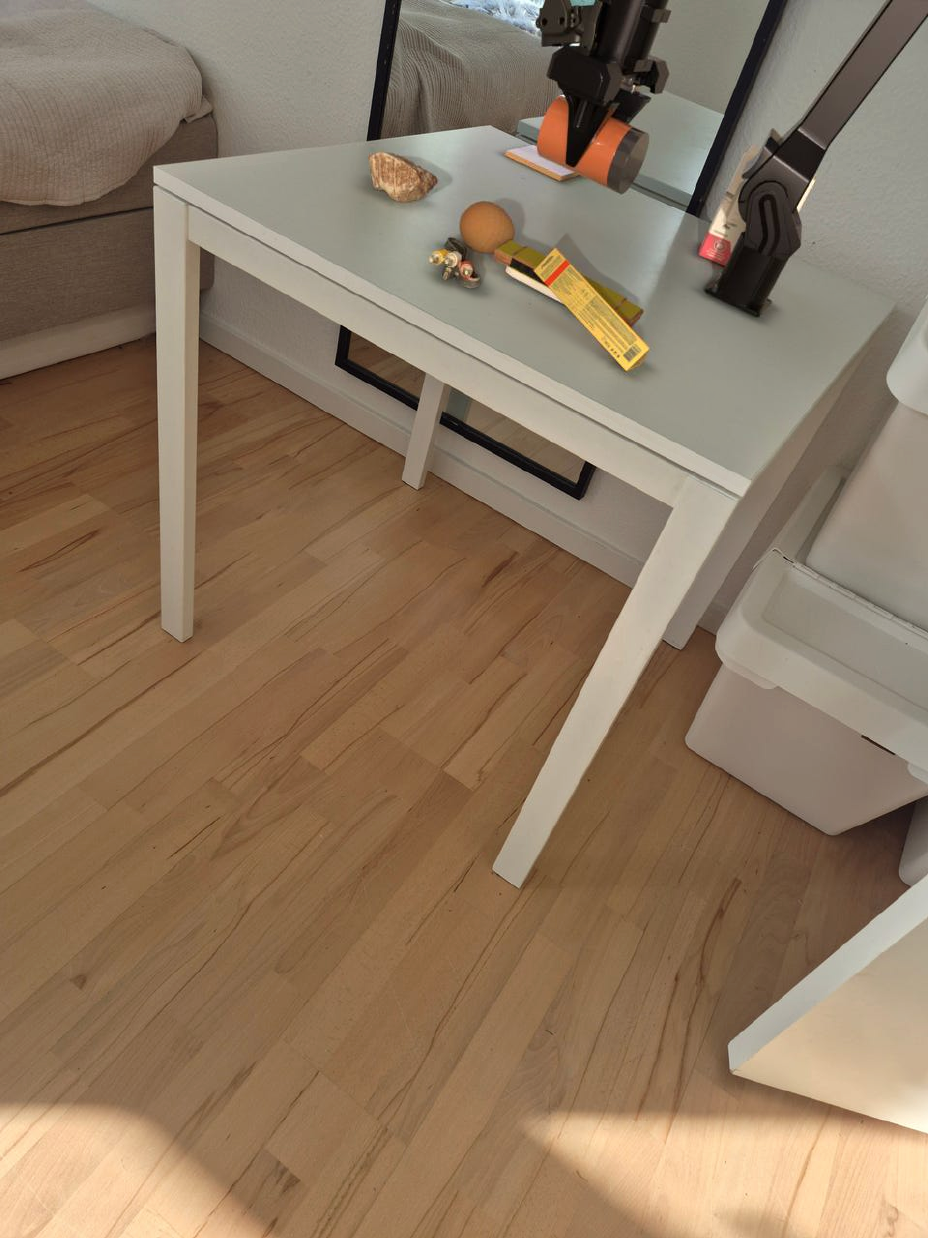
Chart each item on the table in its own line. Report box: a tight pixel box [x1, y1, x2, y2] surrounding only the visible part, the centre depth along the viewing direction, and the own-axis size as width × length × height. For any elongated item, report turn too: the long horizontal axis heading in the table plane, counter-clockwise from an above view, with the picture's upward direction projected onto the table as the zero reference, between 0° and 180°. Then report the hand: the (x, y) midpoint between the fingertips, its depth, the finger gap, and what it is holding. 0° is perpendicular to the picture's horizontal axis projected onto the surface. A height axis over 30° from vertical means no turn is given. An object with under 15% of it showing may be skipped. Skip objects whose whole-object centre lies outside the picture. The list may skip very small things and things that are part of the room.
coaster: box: [504, 144, 580, 182], centre depth 110 cm, size 8×8×1 cm
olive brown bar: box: [492, 240, 645, 329], centre depth 76 cm, size 15×3×2 cm, turn 60°
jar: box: [536, 94, 650, 195], centre depth 87 cm, size 10×6×6 cm, turn 59°
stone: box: [367, 151, 439, 204], centre depth 84 cm, size 7×6×5 cm
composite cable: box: [428, 236, 481, 289], centre depth 75 cm, size 10×5×2 cm, turn 169°
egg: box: [459, 200, 516, 254], centre depth 79 cm, size 4×4×6 cm
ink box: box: [698, 144, 818, 267], centre depth 97 cm, size 9×5×12 cm, turn 68°
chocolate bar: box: [534, 247, 651, 372], centre depth 71 cm, size 3×12×2 cm
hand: (581, 162), depth 88 cm, fingers closed on jar, 6 cm apart
